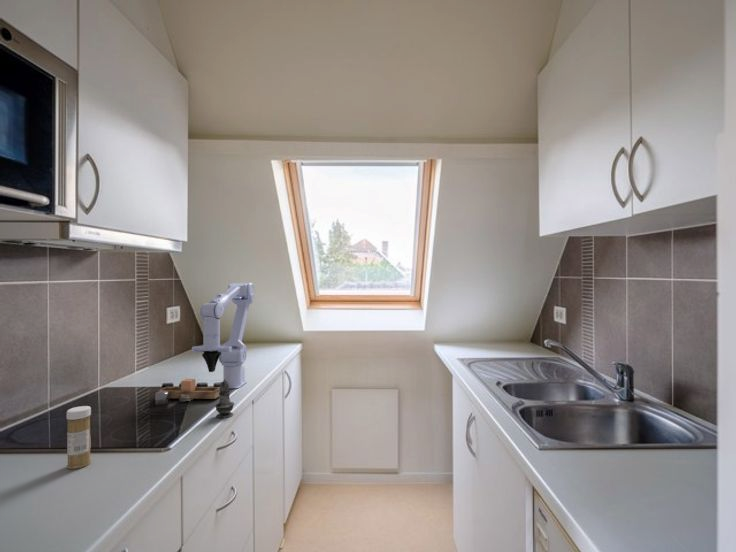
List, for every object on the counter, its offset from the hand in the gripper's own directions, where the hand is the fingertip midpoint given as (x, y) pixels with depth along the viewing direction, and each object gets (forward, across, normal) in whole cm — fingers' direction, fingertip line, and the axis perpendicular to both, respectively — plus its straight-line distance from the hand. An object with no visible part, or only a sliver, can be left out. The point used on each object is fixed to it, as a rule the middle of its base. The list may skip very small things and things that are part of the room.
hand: (211, 371), depth 141 cm
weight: (+10, -15, -7) cm, 19 cm away
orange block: (+7, -8, -1) cm, 11 cm away
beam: (+10, -8, -1) cm, 13 cm away
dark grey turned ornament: (+10, +13, -18) cm, 25 cm away
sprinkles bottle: (+10, -6, -52) cm, 54 cm away
